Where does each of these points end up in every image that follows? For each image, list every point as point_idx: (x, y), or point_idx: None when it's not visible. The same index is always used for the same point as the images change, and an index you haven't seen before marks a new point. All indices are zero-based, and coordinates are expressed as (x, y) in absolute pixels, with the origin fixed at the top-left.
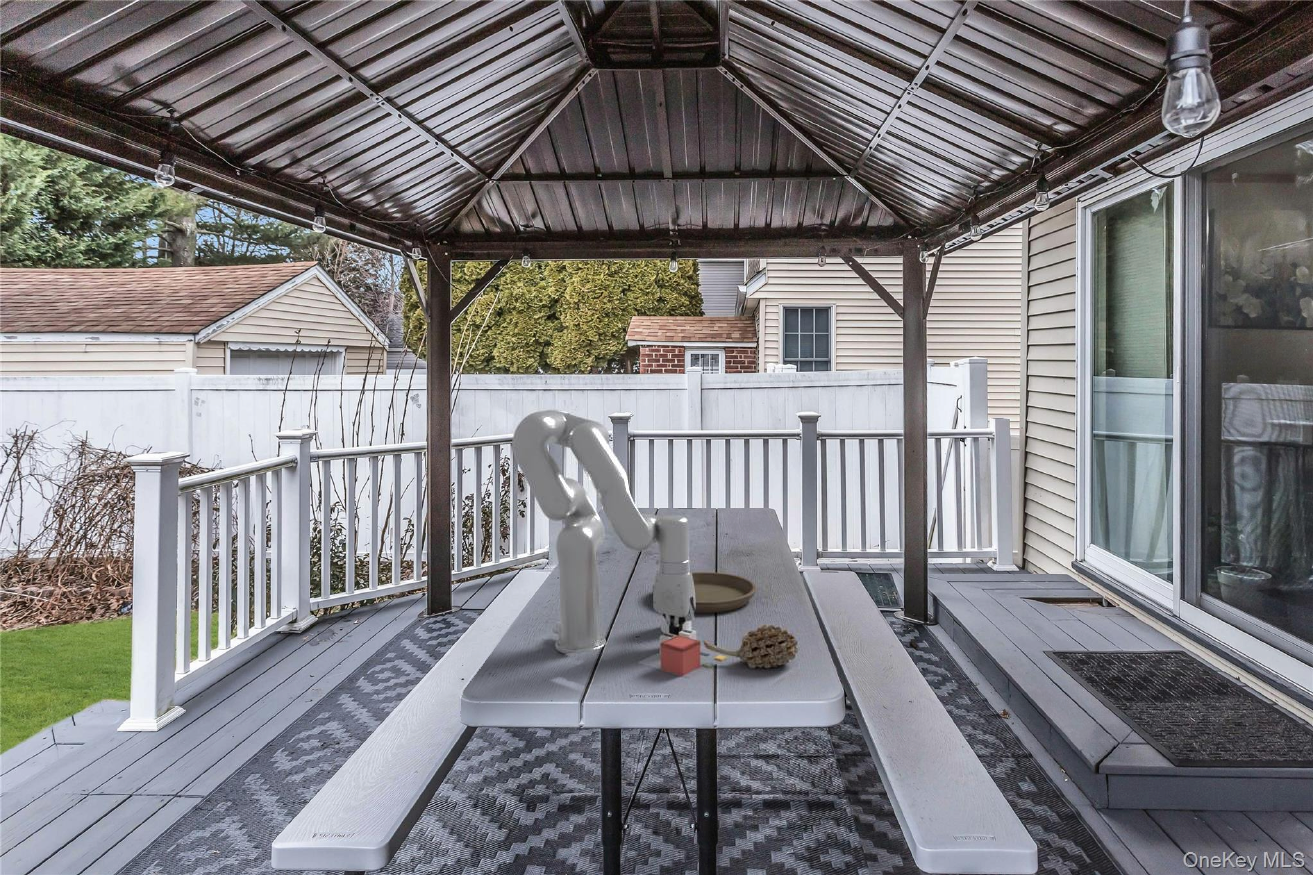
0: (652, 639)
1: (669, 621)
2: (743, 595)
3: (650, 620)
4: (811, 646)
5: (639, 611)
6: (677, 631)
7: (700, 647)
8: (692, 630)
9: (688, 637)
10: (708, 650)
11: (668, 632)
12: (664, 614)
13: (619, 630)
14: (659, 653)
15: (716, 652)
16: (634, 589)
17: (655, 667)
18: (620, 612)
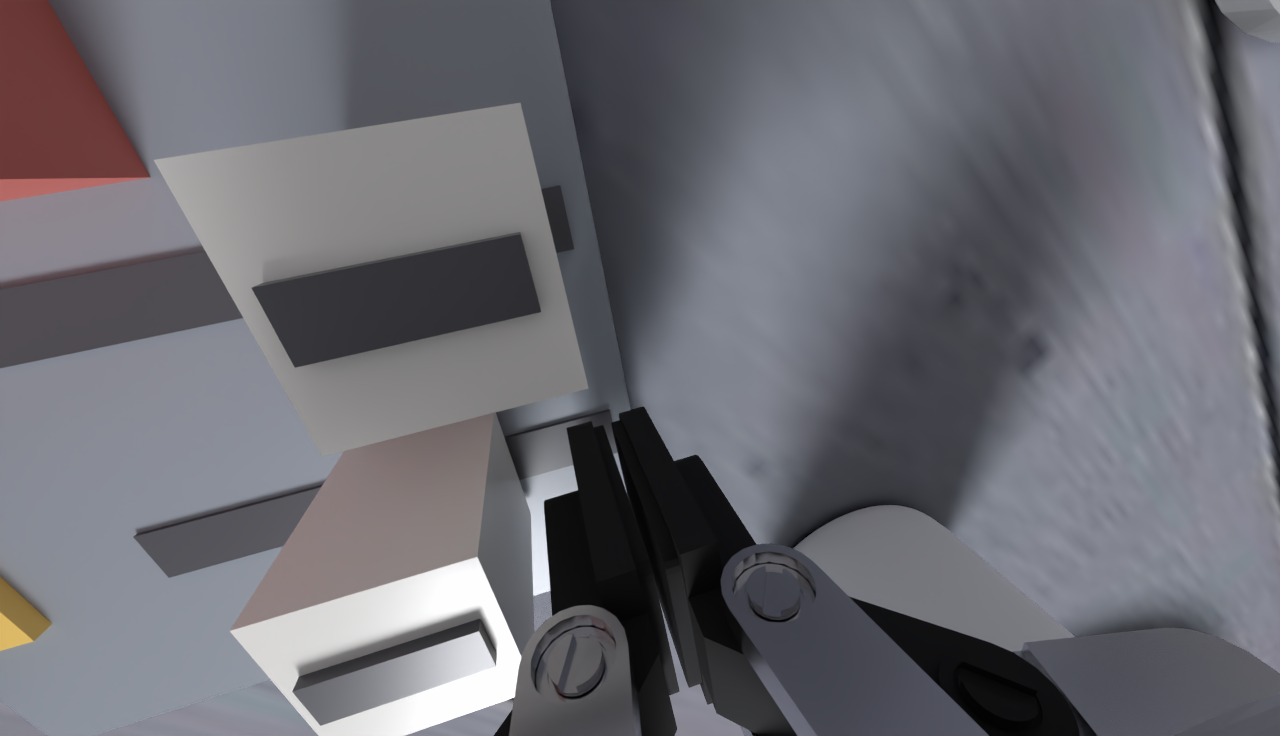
0: (910, 406)
1: (763, 626)
2: None
3: (1079, 559)
4: None
5: (1178, 572)
6: (570, 559)
7: None
8: (413, 728)
9: (271, 581)
10: None
11: (863, 538)
12: (1019, 715)
13: (1188, 326)
14: (559, 165)
15: (208, 642)
16: (1273, 658)
17: None
18: (1264, 495)
